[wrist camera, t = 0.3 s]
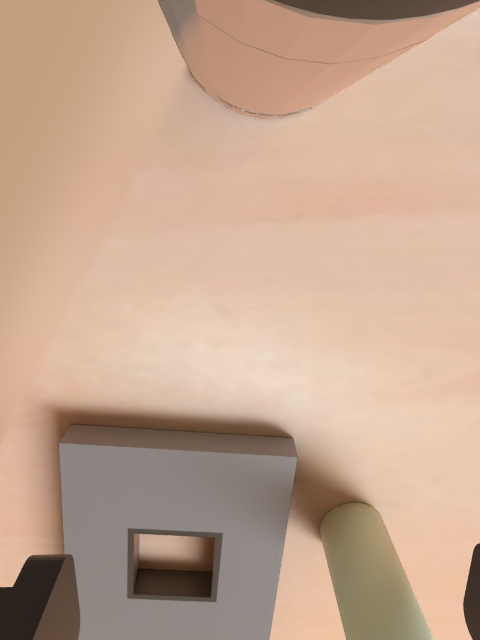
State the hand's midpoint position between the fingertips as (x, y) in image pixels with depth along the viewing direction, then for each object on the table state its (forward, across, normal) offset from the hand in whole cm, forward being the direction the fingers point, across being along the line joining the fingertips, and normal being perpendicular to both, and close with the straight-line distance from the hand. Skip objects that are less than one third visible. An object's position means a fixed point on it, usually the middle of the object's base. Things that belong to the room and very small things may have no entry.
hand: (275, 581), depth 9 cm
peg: (+19, -8, +15) cm, 25 cm away
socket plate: (+19, +4, +16) cm, 25 cm away
